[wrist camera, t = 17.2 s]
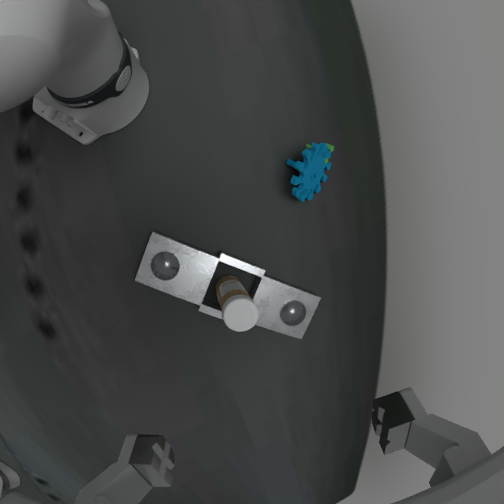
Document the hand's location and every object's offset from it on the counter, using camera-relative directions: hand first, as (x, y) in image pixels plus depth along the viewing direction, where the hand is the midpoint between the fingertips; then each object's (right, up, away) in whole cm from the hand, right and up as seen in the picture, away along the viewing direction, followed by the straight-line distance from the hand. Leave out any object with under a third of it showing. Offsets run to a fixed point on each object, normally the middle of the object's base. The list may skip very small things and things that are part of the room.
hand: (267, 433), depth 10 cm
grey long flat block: (-4, +1, +40) cm, 41 cm away
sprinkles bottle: (-4, +1, +41) cm, 41 cm away
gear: (+8, +20, +40) cm, 46 cm away
